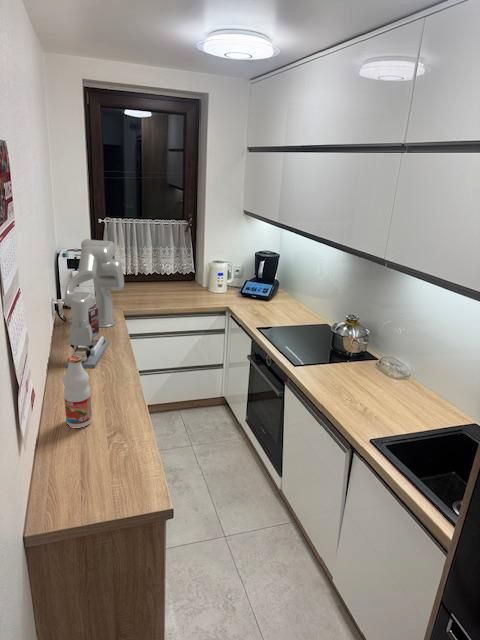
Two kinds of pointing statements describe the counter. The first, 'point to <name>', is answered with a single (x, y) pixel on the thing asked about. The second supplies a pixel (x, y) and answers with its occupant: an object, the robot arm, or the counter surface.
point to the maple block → (82, 352)
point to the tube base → (94, 353)
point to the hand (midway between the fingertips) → (83, 356)
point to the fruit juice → (77, 394)
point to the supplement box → (93, 320)
